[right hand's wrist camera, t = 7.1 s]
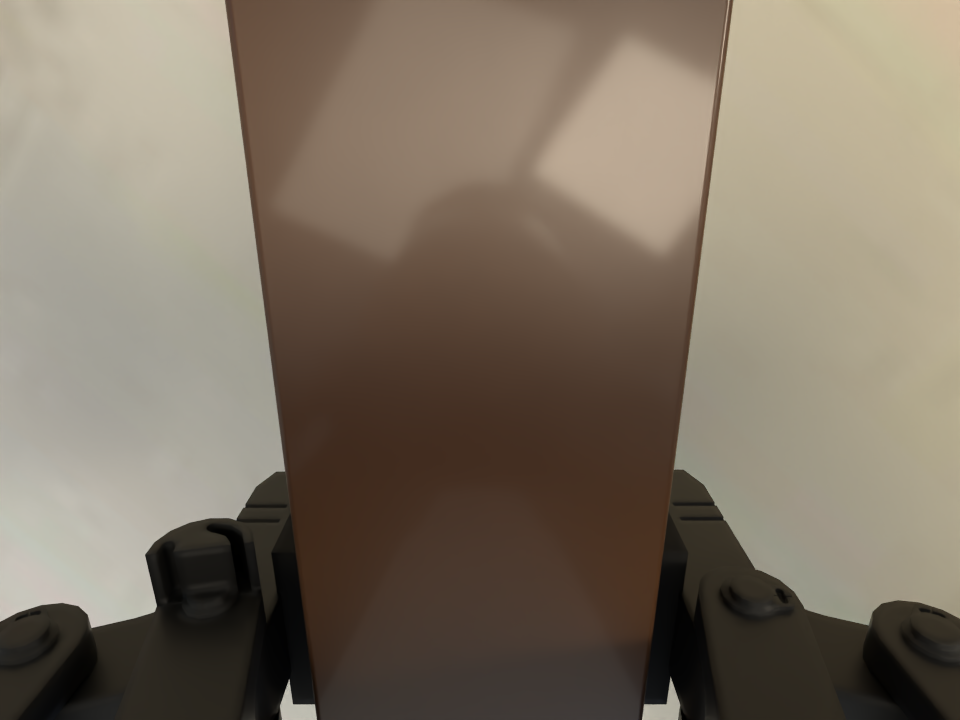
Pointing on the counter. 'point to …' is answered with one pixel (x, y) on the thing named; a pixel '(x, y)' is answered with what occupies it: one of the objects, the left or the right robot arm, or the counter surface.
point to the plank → (479, 333)
